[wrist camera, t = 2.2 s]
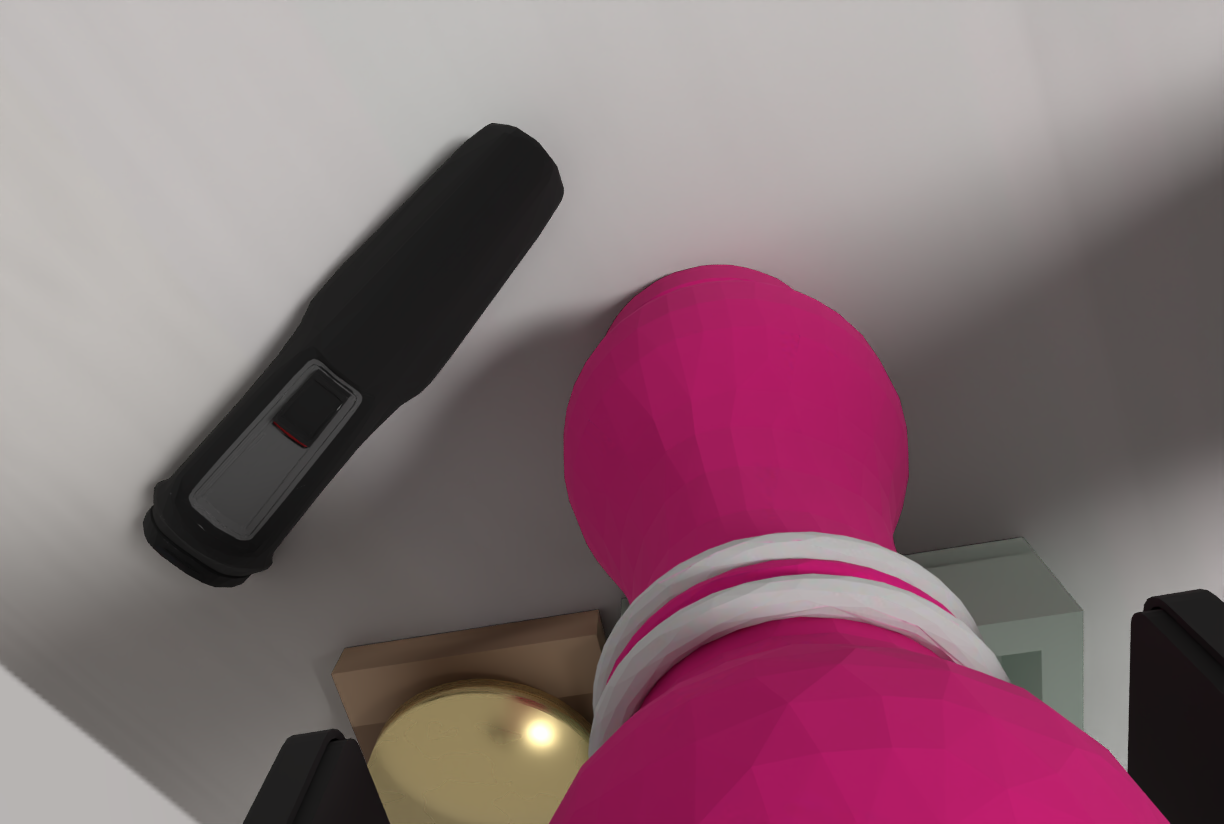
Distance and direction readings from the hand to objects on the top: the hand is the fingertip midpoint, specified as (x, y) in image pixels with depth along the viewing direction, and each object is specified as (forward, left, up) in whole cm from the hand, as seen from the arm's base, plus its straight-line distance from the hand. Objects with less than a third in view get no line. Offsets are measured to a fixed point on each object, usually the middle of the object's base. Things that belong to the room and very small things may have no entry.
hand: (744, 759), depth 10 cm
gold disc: (+8, +10, -13) cm, 19 cm away
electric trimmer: (+9, -2, -14) cm, 16 cm away
